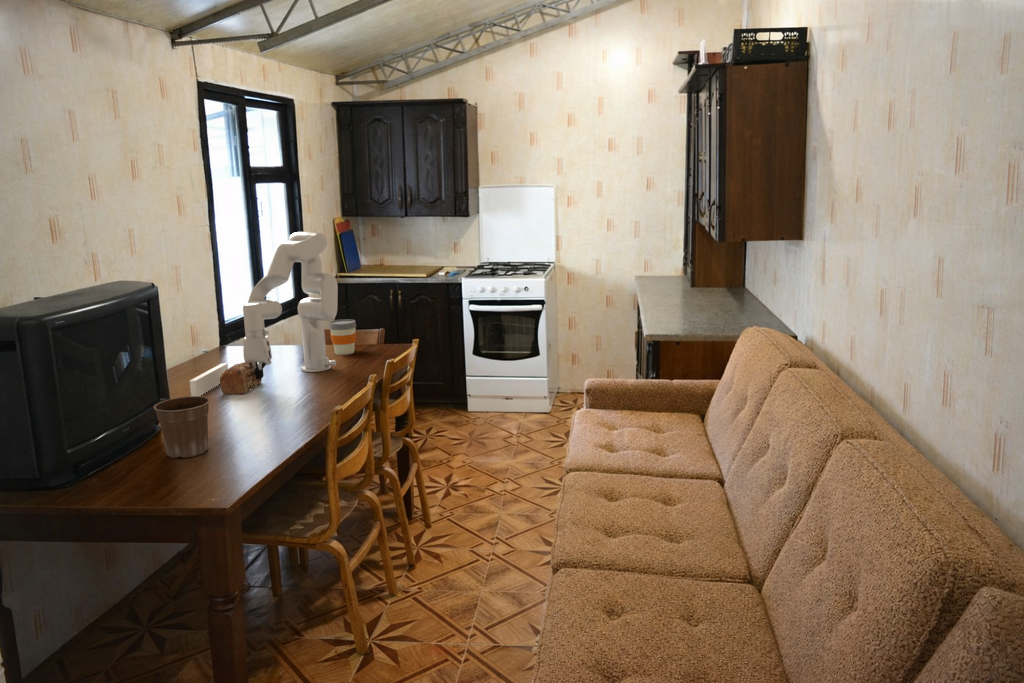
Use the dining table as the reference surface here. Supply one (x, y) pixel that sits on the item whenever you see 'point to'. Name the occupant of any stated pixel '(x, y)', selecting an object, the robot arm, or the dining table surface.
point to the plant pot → (184, 425)
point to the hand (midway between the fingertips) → (259, 378)
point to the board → (207, 380)
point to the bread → (238, 379)
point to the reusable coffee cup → (343, 336)
